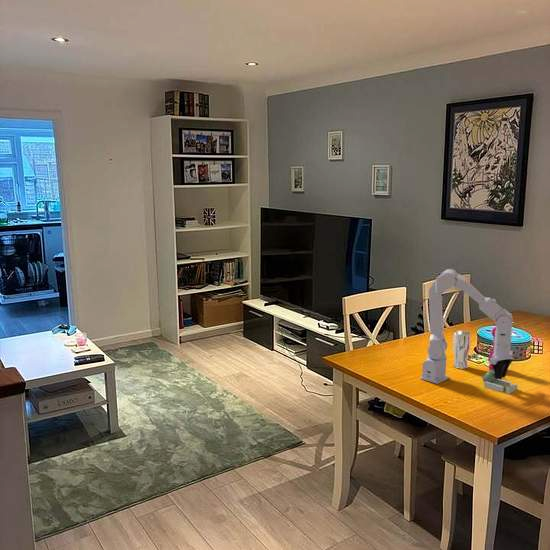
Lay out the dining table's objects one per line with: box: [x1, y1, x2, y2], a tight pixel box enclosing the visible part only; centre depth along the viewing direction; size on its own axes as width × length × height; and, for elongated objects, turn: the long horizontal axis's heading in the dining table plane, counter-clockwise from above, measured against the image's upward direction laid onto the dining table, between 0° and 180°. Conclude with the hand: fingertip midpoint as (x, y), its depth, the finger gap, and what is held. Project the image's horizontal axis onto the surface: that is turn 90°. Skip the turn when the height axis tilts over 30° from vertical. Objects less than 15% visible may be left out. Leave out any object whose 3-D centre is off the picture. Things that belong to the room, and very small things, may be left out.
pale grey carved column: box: [452, 329, 472, 370], centre depth 230 cm, size 7×7×15 cm
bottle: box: [481, 369, 497, 384], centre depth 210 cm, size 4×4×8 cm
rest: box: [483, 379, 518, 395], centre depth 208 cm, size 7×10×2 cm
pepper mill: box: [487, 326, 496, 371], centre depth 226 cm, size 7×7×20 cm
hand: (500, 377), depth 208 cm, fingers closed on bottle, 2 cm apart
